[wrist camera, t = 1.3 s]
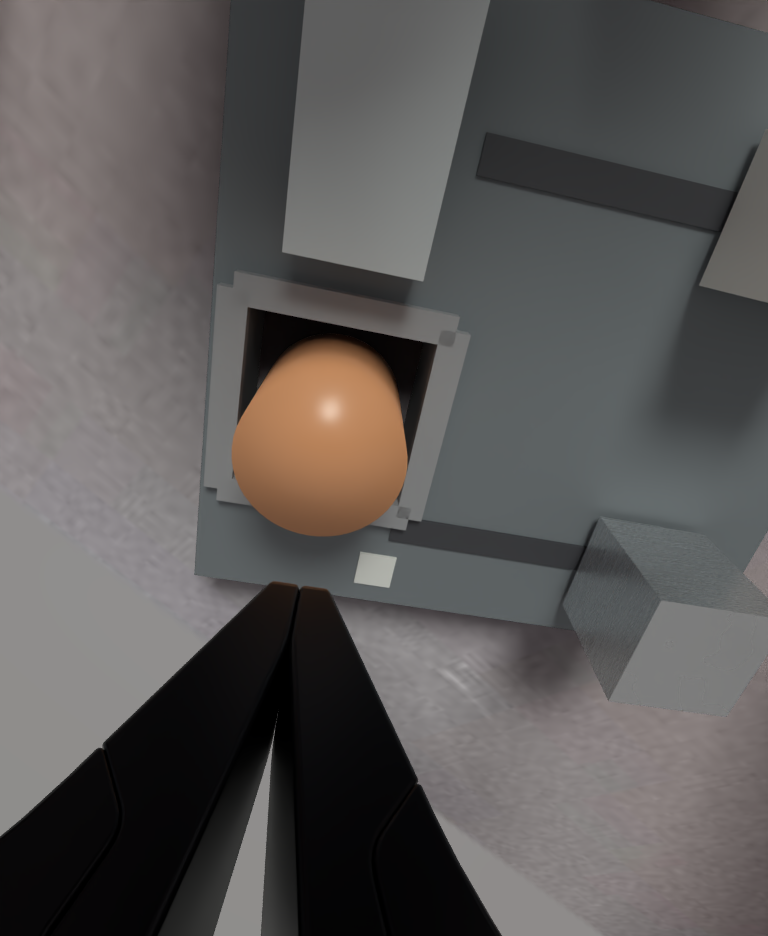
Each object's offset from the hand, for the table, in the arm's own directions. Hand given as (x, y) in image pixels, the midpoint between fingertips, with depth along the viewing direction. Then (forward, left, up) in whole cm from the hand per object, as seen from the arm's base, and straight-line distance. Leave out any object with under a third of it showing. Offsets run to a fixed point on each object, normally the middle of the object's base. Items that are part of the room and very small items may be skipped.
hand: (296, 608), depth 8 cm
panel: (-5, -2, -11) cm, 13 cm away
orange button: (0, 0, -9) cm, 9 cm away
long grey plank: (0, -7, -7) cm, 10 cm away
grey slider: (-10, +4, -8) cm, 14 cm away
